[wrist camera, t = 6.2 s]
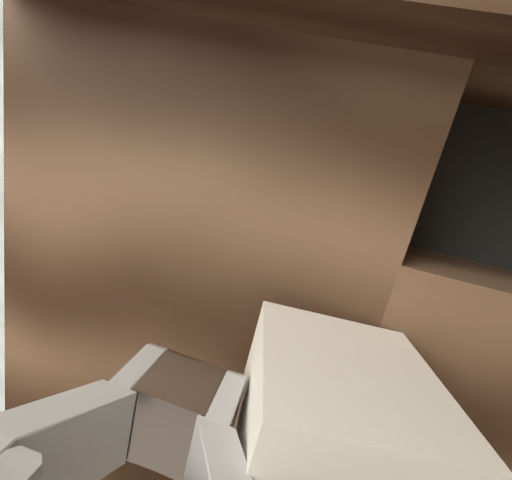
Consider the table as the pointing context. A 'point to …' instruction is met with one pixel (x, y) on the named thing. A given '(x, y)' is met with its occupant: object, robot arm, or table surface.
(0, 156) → the table surface
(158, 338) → the box
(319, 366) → the block
